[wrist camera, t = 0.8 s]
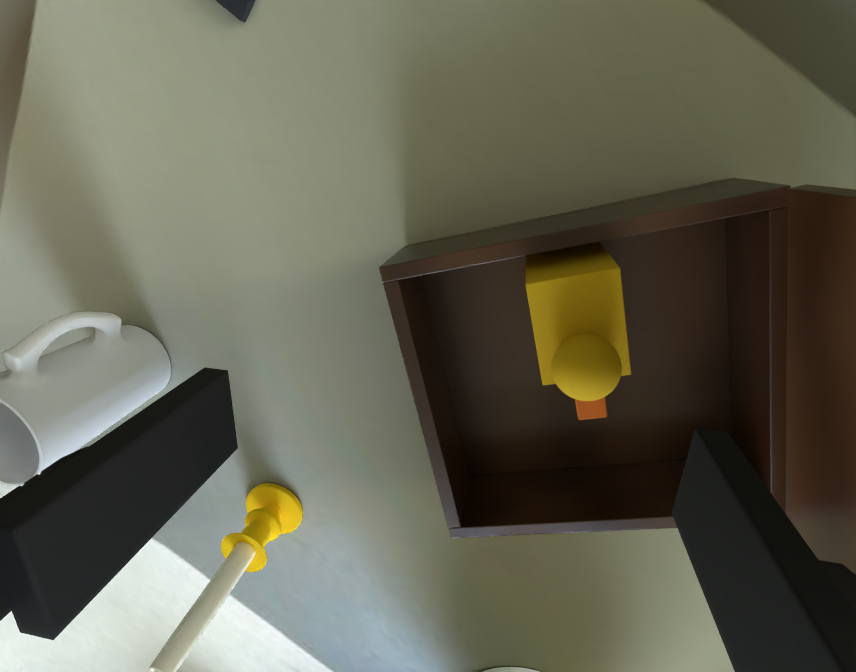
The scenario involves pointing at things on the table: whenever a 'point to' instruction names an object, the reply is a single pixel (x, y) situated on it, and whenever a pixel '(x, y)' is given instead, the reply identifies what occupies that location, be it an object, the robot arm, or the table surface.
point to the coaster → (238, 7)
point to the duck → (579, 323)
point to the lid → (822, 370)
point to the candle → (234, 566)
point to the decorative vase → (510, 669)
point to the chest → (634, 394)
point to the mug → (72, 389)
